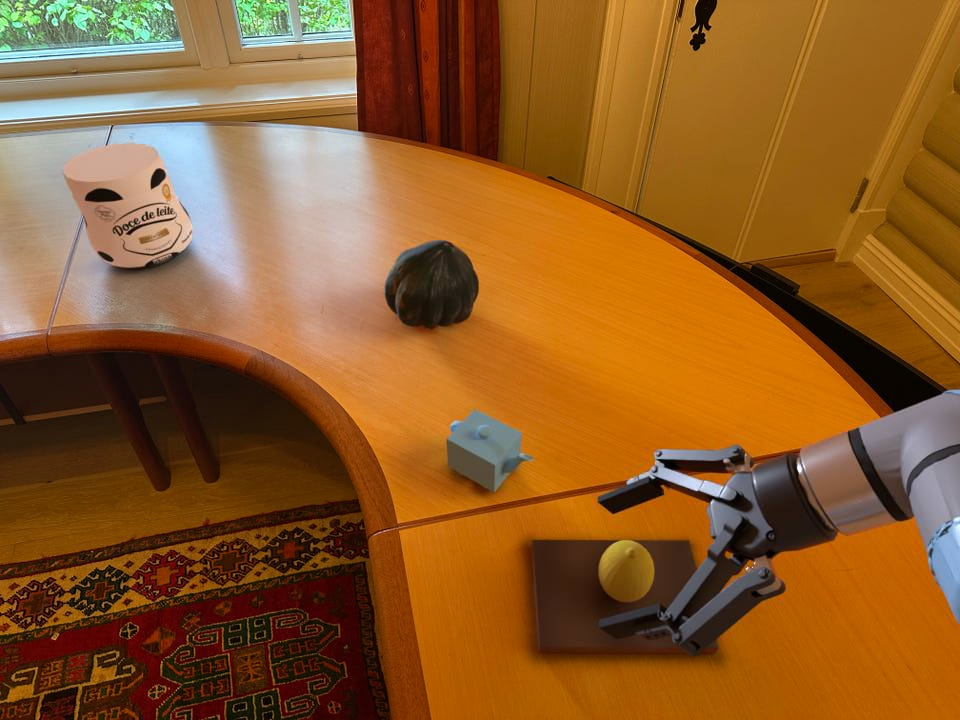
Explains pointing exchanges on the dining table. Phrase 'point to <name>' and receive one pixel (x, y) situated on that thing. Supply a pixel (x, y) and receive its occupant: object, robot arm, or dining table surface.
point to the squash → (432, 285)
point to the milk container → (128, 205)
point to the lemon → (626, 571)
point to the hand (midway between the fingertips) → (606, 562)
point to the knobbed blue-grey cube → (484, 449)
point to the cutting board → (600, 595)
